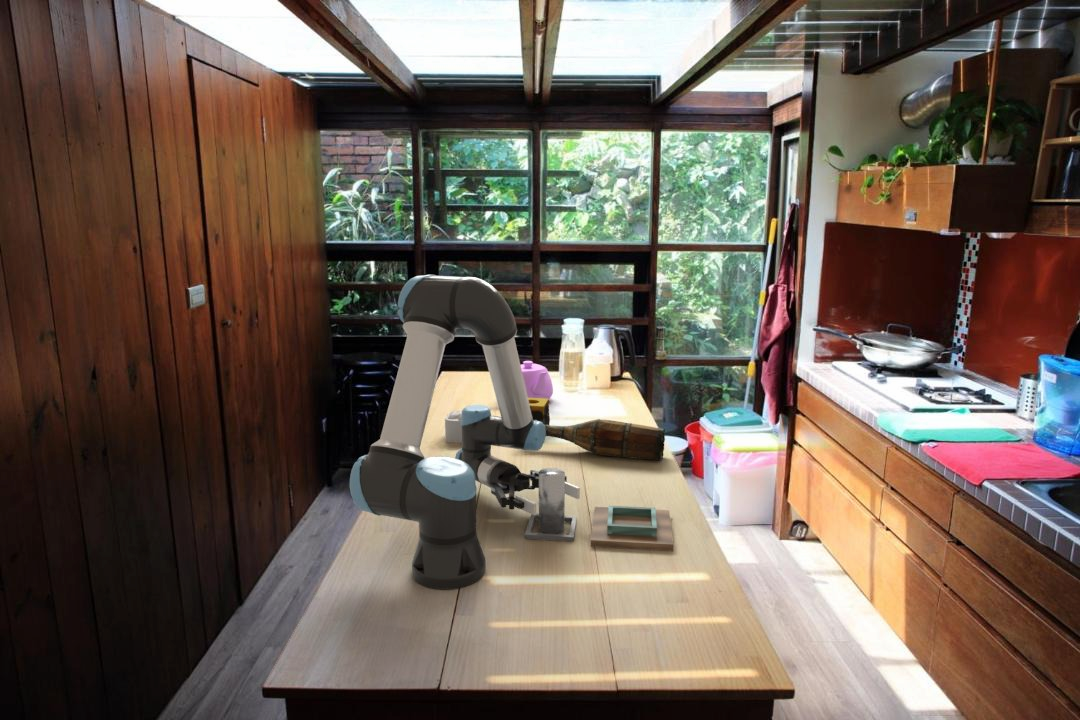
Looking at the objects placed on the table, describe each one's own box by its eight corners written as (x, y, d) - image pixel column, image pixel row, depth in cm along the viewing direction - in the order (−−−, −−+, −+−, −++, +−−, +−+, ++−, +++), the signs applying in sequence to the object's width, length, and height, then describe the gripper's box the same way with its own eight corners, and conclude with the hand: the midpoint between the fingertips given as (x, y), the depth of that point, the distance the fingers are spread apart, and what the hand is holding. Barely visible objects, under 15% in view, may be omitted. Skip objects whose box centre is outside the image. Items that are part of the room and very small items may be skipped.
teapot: (489, 399, 281) (488, 360, 278) (538, 392, 291) (538, 355, 288) (515, 414, 262) (515, 373, 258) (566, 406, 271) (567, 366, 268)
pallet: (673, 550, 161) (673, 536, 160) (590, 546, 163) (590, 531, 162) (668, 516, 178) (669, 502, 177) (594, 512, 180) (594, 499, 180)
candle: (544, 436, 238) (544, 406, 236) (514, 434, 240) (513, 404, 238) (550, 426, 247) (550, 398, 245) (521, 424, 249) (521, 396, 247)
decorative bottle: (668, 442, 222) (527, 426, 235) (667, 418, 215) (522, 403, 228) (662, 470, 214) (517, 452, 228) (661, 446, 207) (511, 428, 221)
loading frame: (573, 541, 165) (573, 537, 165) (524, 538, 167) (524, 534, 166) (576, 520, 176) (576, 516, 176) (531, 517, 177) (531, 514, 177)
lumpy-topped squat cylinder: (448, 432, 242) (448, 407, 240) (488, 432, 241) (488, 407, 239) (444, 442, 231) (443, 416, 230) (485, 443, 231) (484, 416, 229)
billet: (563, 535, 168) (563, 478, 165) (537, 534, 169) (537, 476, 166) (565, 524, 174) (565, 468, 171) (540, 523, 174) (540, 467, 171)
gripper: (537, 477, 193) (595, 501, 178) (459, 502, 177) (515, 532, 161) (537, 450, 191) (595, 472, 176) (458, 473, 175) (515, 500, 160)
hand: (557, 501), depth 169 cm, fingers open, 13 cm apart
